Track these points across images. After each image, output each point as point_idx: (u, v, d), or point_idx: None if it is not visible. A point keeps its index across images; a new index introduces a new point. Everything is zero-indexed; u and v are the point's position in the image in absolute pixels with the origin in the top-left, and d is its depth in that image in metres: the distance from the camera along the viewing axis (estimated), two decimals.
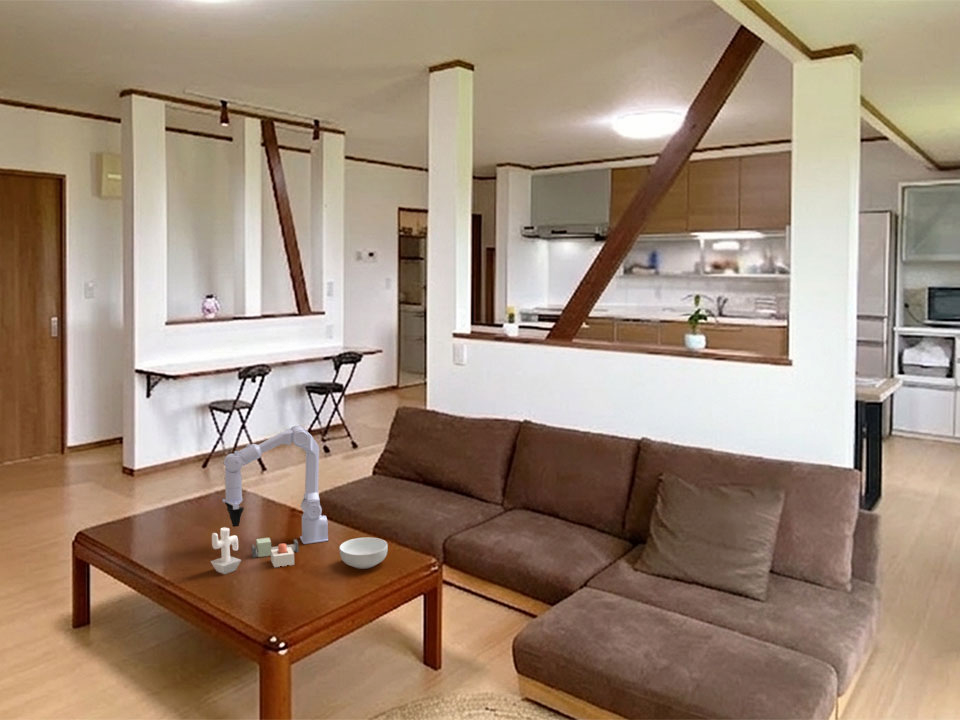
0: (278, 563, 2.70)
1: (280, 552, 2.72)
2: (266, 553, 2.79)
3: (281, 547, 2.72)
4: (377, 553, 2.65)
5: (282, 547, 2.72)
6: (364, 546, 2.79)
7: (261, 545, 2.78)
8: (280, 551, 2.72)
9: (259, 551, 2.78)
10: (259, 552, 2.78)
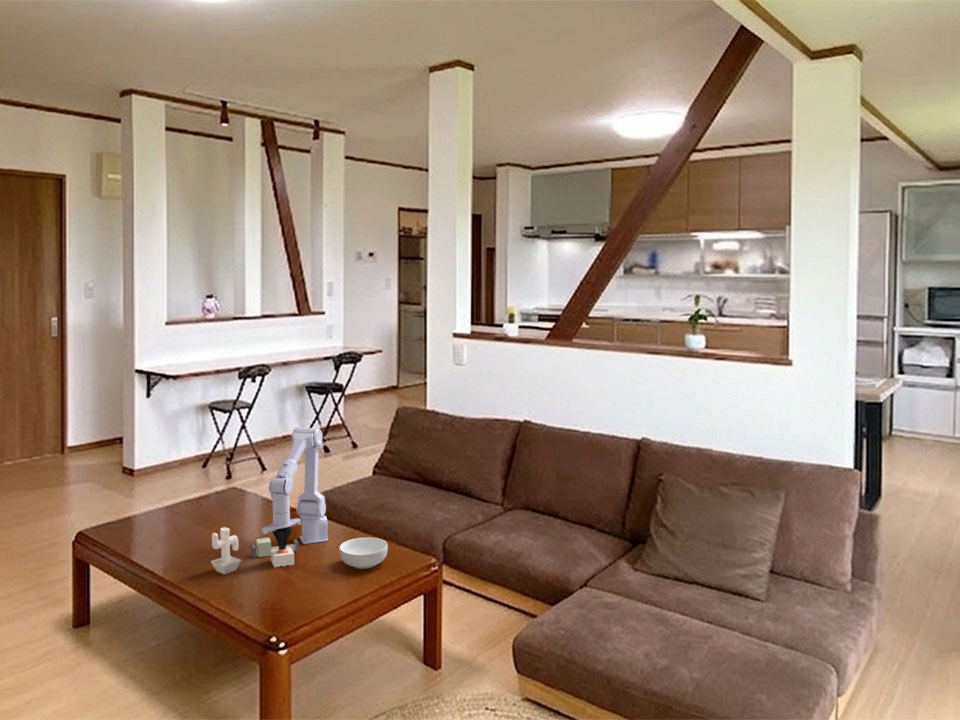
0: (278, 563, 2.70)
1: None
2: (266, 553, 2.79)
3: (281, 551, 2.72)
4: (377, 553, 2.65)
5: (282, 551, 2.72)
6: (364, 546, 2.79)
7: (261, 545, 2.78)
8: None
9: (259, 551, 2.78)
10: (259, 552, 2.78)
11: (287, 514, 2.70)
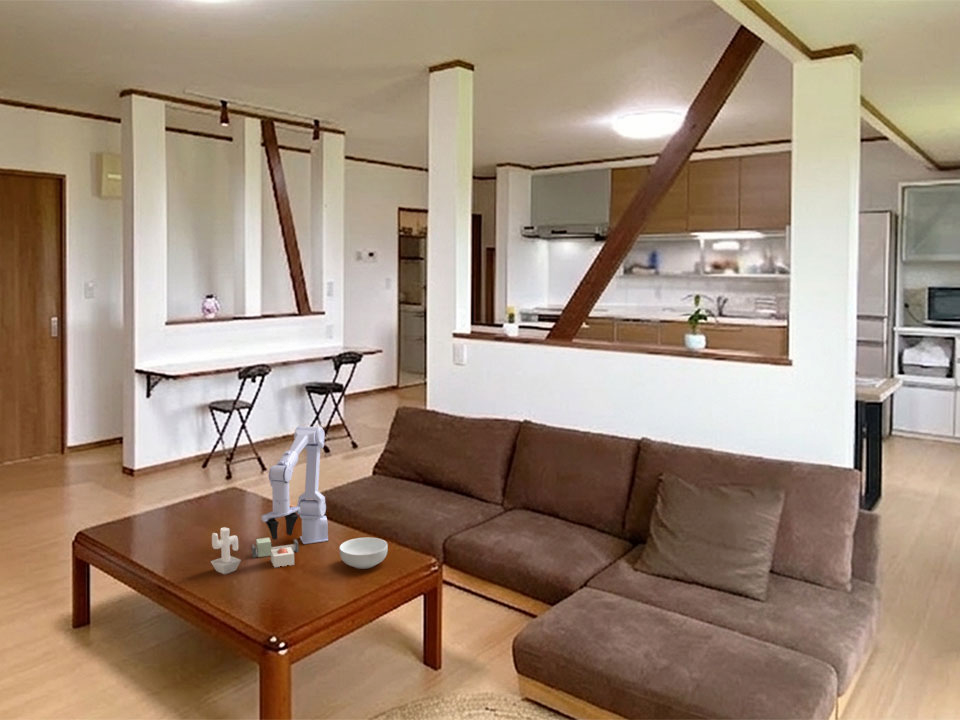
0: (278, 563, 2.70)
1: None
2: (266, 553, 2.79)
3: (281, 552, 2.72)
4: (377, 553, 2.65)
5: (282, 552, 2.72)
6: (364, 546, 2.79)
7: (261, 545, 2.78)
8: None
9: (259, 551, 2.78)
10: (259, 552, 2.78)
11: (287, 502, 2.70)
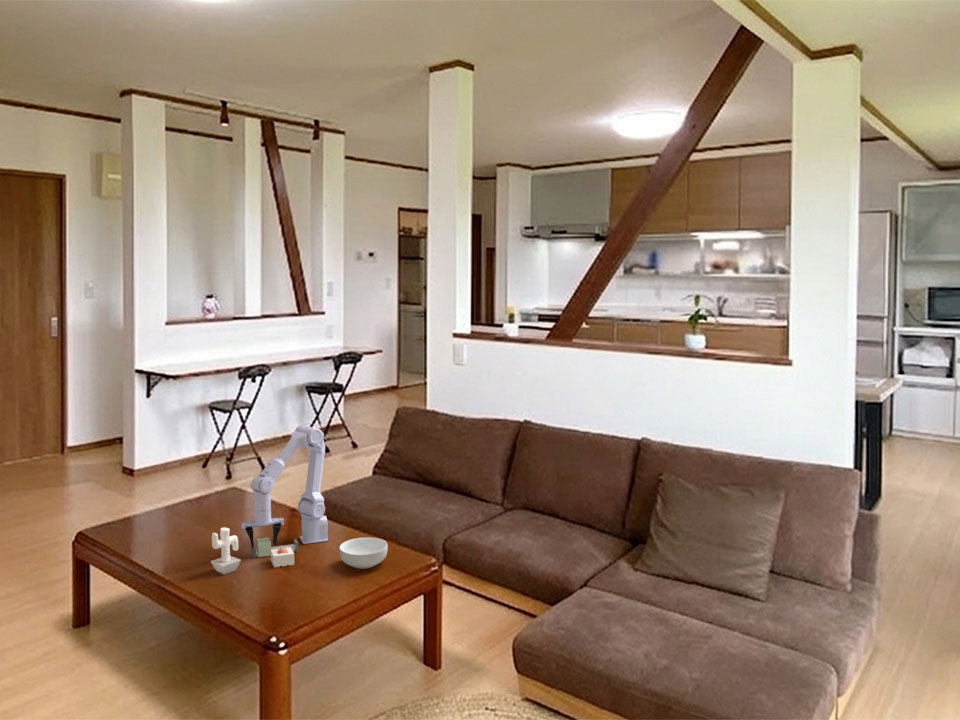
0: (278, 563, 2.70)
1: None
2: (266, 553, 2.79)
3: (281, 552, 2.72)
4: (377, 552, 2.65)
5: (282, 552, 2.72)
6: (364, 546, 2.79)
7: (261, 545, 2.78)
8: None
9: (259, 551, 2.78)
10: (259, 552, 2.78)
11: (265, 512, 2.77)
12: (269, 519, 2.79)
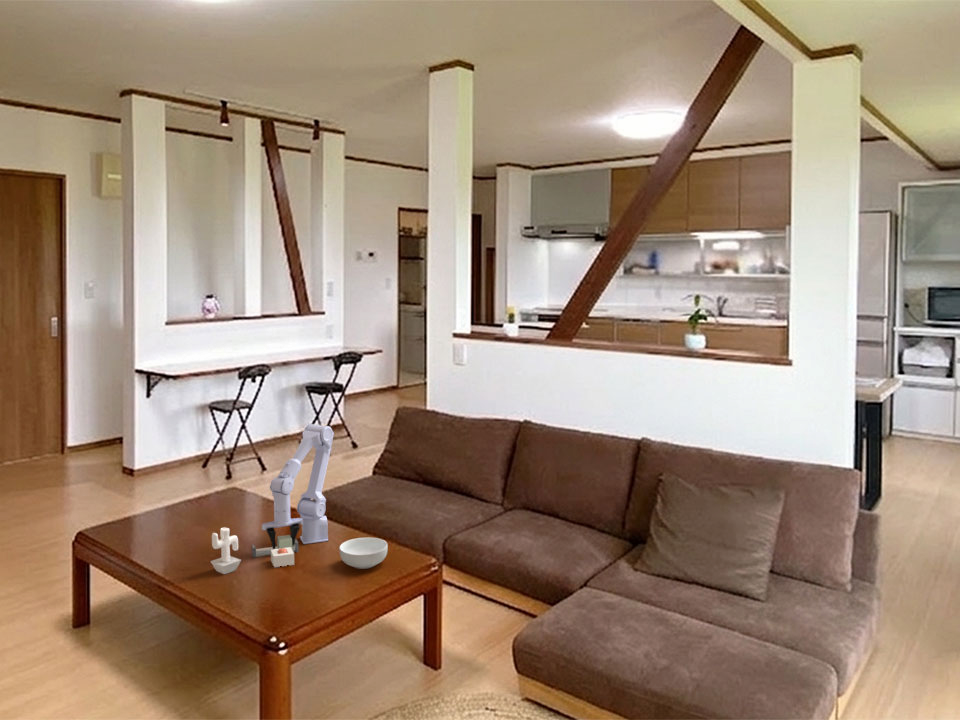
0: (278, 563, 2.70)
1: None
2: None
3: (281, 552, 2.72)
4: (377, 553, 2.65)
5: (282, 552, 2.72)
6: (364, 546, 2.79)
7: (282, 542, 2.81)
8: None
9: None
10: None
11: (286, 513, 2.80)
12: (289, 519, 2.82)
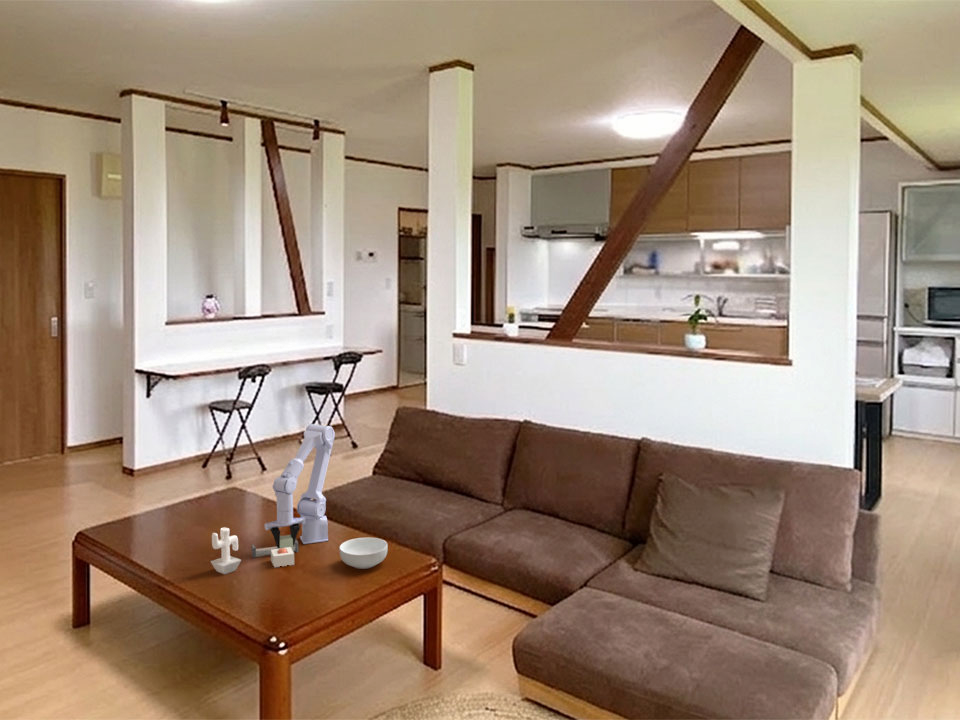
0: (278, 563, 2.70)
1: None
2: None
3: (281, 552, 2.72)
4: (377, 553, 2.65)
5: (282, 552, 2.72)
6: (364, 546, 2.79)
7: (283, 542, 2.81)
8: None
9: None
10: None
11: (289, 513, 2.81)
12: (292, 519, 2.83)
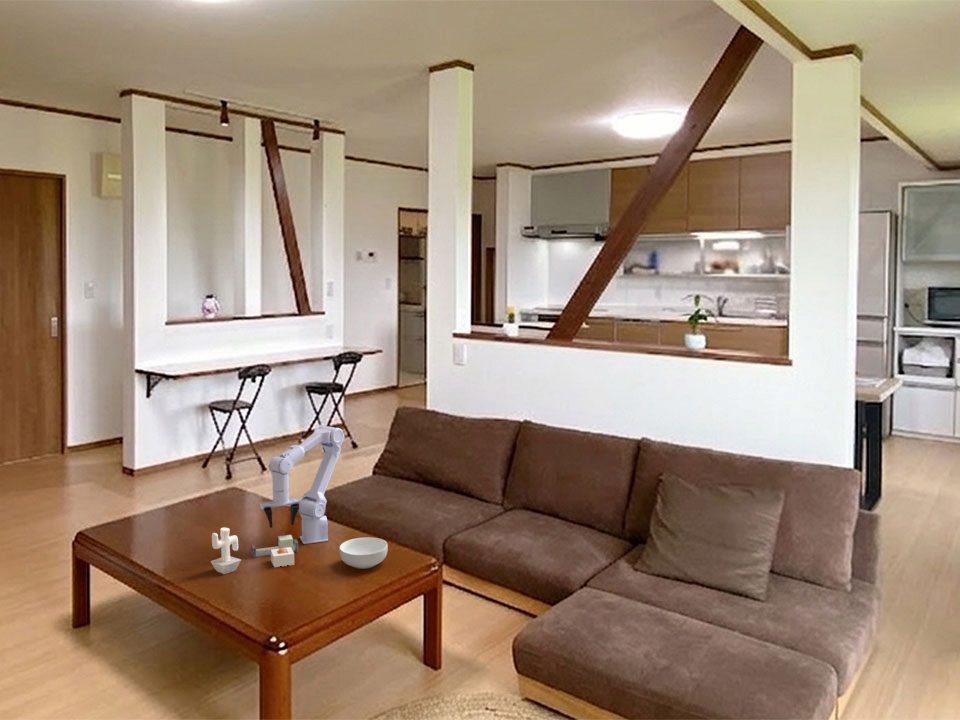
0: (278, 563, 2.70)
1: None
2: None
3: (281, 552, 2.72)
4: (377, 553, 2.65)
5: (282, 552, 2.72)
6: (364, 546, 2.79)
7: (284, 542, 2.81)
8: None
9: None
10: None
11: (284, 493, 2.81)
12: (287, 499, 2.83)
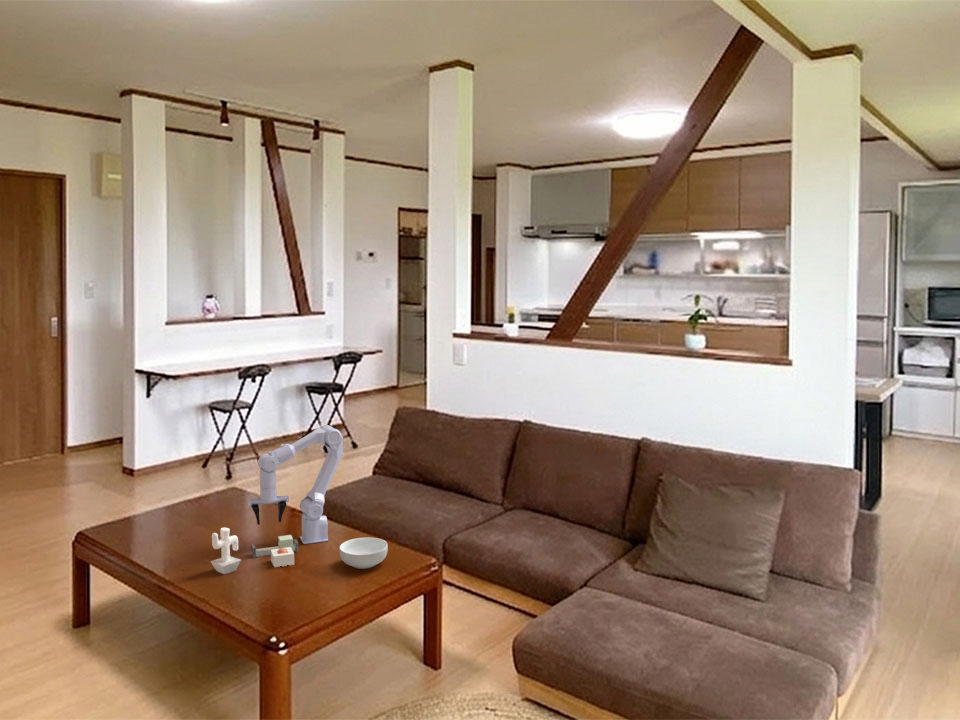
0: (278, 563, 2.70)
1: None
2: None
3: (281, 552, 2.72)
4: (377, 553, 2.65)
5: (282, 552, 2.72)
6: (364, 546, 2.79)
7: (284, 542, 2.81)
8: None
9: None
10: None
11: (271, 490, 2.84)
12: (274, 497, 2.86)
